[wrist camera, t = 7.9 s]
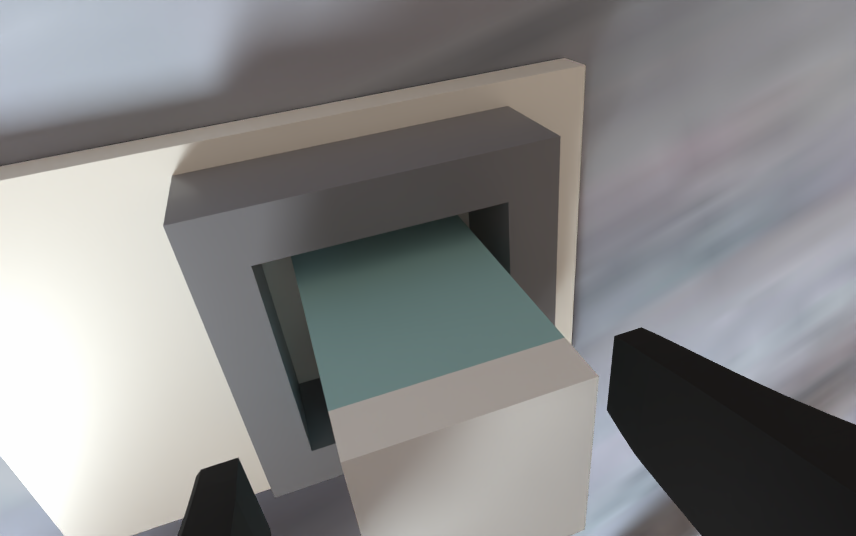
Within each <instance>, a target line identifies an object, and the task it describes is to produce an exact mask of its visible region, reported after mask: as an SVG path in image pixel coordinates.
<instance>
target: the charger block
mask: <svg viewBox="0 0 856 536" xmlns="http://www.w3.org/2000/svg"><path fill="white" fill-rule="evenodd" d="M291 259H292V263H293V267H294V271H295V275H296V280H297V284H298V288H299V292H300V296H301V300H302V305H303V309H304V313H305V317H306V321H307V325H308V330H309V334H310V338H311V342H312V346H313V350H314V354H315V359H316V363H317V367H318V371H319V375H320V379H321V384H322V388H323V392H324V396H325V400H326V404H327V409H328V413H329V417H330V421H331V425H332V429H333V434H334V438H335V442H336V446H337V450H338V454H339V458H340V463H341V466H342V470H343V473H344V477H345V480H346V484H347V487H348V491H349V494H350V498H351V501H352V505H353V508H354V512H355V515H356V519H357V522H358V526H359V529H360V533H361V536H570V535H573V534H575V533H578V532H580V531H583V530H585V521H586V510H587V499H588V488H589V478H590V467H591V456H592V445H593V434H594V423H595V413H596V402H597V391H598V380H599V376H598V375H597V374H596V373H595V371H594V370H593V369H592V368H591V367H590V366H589V365H588V363H587V362H586V361H585V360H584V359H583V358H582V357H581V355H580V354H579V353H578V352H577V351H576V350H575V349H574V347H573V346H572V345H571V344H570V343H569V342H568V341H567V339H566V338H565V337H564V336H563V335H562V334H561V333H560V331H559V330H558V329H557V328H556V327H555V326H554V325H553V323H552V322H551V321H550V320H549V319H548V318H547V317H546V316H545V314H544V313H543V312H542V311H541V310H540V309H539V308H538V306H537V305H536V304H535V303H534V302H533V301H532V300H531V298H530V297H529V296H528V295H527V294H526V293H525V292H524V290H523V289H522V288H521V287H520V286H519V285H518V284H517V282H516V281H515V280H514V279H513V278H512V277H511V276H510V274H509V273H508V272H507V271H506V270H505V269H504V268H503V266H502V265H501V264H500V263H499V262H498V261H497V260H496V258H495V257H494V256H493V255H492V254H491V253H490V252H489V250H488V249H487V248H486V247H485V246H484V245H483V244H482V242H481V241H480V240H479V239H478V238H477V237H476V236H475V234H474V233H473V232H472V231H471V230H470V229H469V228H468V226H467V225H466V224H465V223H464V222H463V221H462V220H461V218H460V217H459V216H458V215H455V216H451V217H447V218H442V219H438V220H434V221H430V222H426V223H422V224H418V225H414V226H410V227H406V228H402V229H398V230H394V231H390V232H386V233H382V234H378V235H374V236H370V237H366V238H362V239H358V240H354V241H350V242H346V243H342V244H338V245H334V246H330V247H326V248H322V249H318V250H314V251H310V252H306V253H302V254H298V255H294V256H291Z"/></svg>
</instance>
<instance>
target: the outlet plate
mask: <svg viewBox="0 0 856 536" xmlns="http://www.w3.org/2000/svg"><path fill="white" fill-rule="evenodd" d="M585 69H586V65H584V64H581V63H578V62H575V61H572V60H569V59H566V58H561V59H556V60H551V61H546V62H540V63H535V64H530V65H525V66H520V67H514V68H509V69H504V70H499V71H494V72H488V73H483V74H478V75H473V76H468V77H462V78H457V79H452V80H447V81H442V82H436V83H431V84H426V85H421V86H416V87H410V88H405V89H400V90H395V91H390V92H384V93H379V94H374V95H369V96H363V97H358V98H353V99H348V100H343V101H337V102H332V103H327V104H322V105H317V106H311V107H306V108H301V109H296V110H291V111H285V112H280V113H275V114H270V115H265V116H259V117H254V118H249V119H244V120H239V121H233V122H228V123H223V124H218V125H213V126H207V127H202V128H197V129H192V130H186V131H181V132H176V133H171V134H166V135H160V136H155V137H150V138H145V139H140V140H134V141H129V142H124V143H119V144H114V145H108V146H103V147H98V148H93V149H88V150H82V151H77V152H72V153H67V154H62V155H56V156H51V157H46V158H41V159H36V160H30V161H25V162H20V163H15V164H10V165H4V166H0V455H1V456H2V458H3V459H4V460H5V462H6V463H7V464H8V465H9V467H10V468H11V469H12V470H13V472H14V473H15V474H16V475H17V477H18V478H19V479H20V480H21V482H22V483H23V484H24V485H25V487H26V488H27V489H28V490H29V492H30V493H31V494H32V495H33V497H34V498H35V499H36V500H37V502H38V503H39V504H40V506H41V507H42V508H43V509H44V511H45V512H46V513H47V514H48V516H49V517H50V518H51V519H52V521H53V522H54V523H55V524H56V526H57V527H58V528H59V529H60V531H61V532H62V533H63V534H64V536H132V535H135V534H138V533H141V532H144V531H147V530H150V529H153V528H156V527H159V526H161V525H164V524H167V523H170V522H173V521H176V520H179V519H182V518H184V515H185V512H186V509H187V506H188V502H189V499H190V496H191V493H192V489H193V486H194V482H195V478H196V476H197V474H198V473H199V472H200V470H201V469H204V468H207V467H210V466H213V465H216V464H219V463H223V462H226V461H229V460H232V459H235V458H238V457H239V460H240V462H241V464H242V466H243V469H244V471H245V473H246V476H247V478H248V480H249V482H250V485H251V487H252V489H253V492H254V494H257V493H260V492H263V491H265V490H268V489H271V490H272V492H273V495H274V497H275V498H276V497H279V496H282V495H285V494H288V493H291V492H294V491H297V490H300V489H303V488H306V487H309V486H312V485H315V484H318V483H320V482H323V481H326V480H329V479H332V478H335V477H338V476H341V475H344V473H343V470H342V466H341V463H340V458H339V454H338V450H337V446H336V442H335V438H334V434H333V429H332V425H331V421H330V417H329V413H328V409H327V404H326V400H325V396H324V392H323V388H322V384H321V379H320V375H319V371H318V367H317V363H316V359H315V354H314V350H313V346H312V342H311V338H310V334H309V330H308V325H307V321H306V317H305V313H304V309H303V305H302V300H301V296H300V292H299V288H298V284H297V280H296V275H295V271H294V267H293V263H292V259H291V256H294V255H298V254H302V253H306V252H310V251H314V250H318V249H322V248H326V247H330V246H334V245H338V244H342V243H346V242H350V241H354V240H358V239H362V238H366V237H370V236H374V235H378V234H382V233H386V232H390V231H394V230H398V229H402V228H406V227H410V226H414V225H418V224H422V223H426V222H430V221H434V220H438V219H442V218H447V217H451V216H455V215H458V216H459V217H460V218H461V220H462V221H463V222H464V223H465V224H466V225H467V226H468V228H469V229H470V230H471V231H472V232H473V233H474V234H475V236H476V237H477V238H478V239H479V240H480V241H481V242H482V244H483V245H484V246H485V247H486V248H487V249H488V250H489V252H490V253H491V254H492V255H493V256H494V257H495V258H496V260H497V261H498V262H499V263H500V264H501V265H502V266H503V268H504V269H505V270H506V271H507V272H508V273H509V274H510V276H511V277H512V278H513V279H514V280H515V281H516V282H517V284H518V285H519V286H520V287H521V288H522V289H523V290H524V292H525V293H526V294H527V295H528V296H529V297H530V298H531V300H532V301H533V302H534V303H535V304H536V305H537V306H538V308H539V309H540V310H541V311H542V312H543V313H544V314H545V316H546V317H547V318H548V319H549V320H550V321H551V322H552V323H553V325H554V326H555V327H556V328H557V329H558V330H559V331H560V333H561V334H562V335H563V336H564V337H565V338H566V339H567V341H568V342H569V343H570V344H571V342H572V323H573V303H574V284H575V264H576V245H577V225H578V206H579V186H580V167H581V147H582V128H583V108H584V89H585Z"/></svg>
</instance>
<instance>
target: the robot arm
mask: <svg viewBox="0 0 856 536" xmlns="http://www.w3.org/2000/svg"><path fill="white" fill-rule="evenodd" d="M607 411H608V413H609V414H610V416H611V418H612V419H613V421H614V422H615V424H616V426H617V427H618V429H619V431H620V432H621V434H622V435H623V437H624V438H625V440H626V441H627V443H628V444H629V446H630V447H631V449H632V450H633V452H634V454H635V455H636V456H637V458H638V459H639V460H640V461H641V463H642V464H643V465H644V466H645V468H646V469H647V470H648V471H649V472H650V474H651V475H652V476H653V477H654V479H655V480H656V481H657V482H658V483H659V485H660V486H661V487H662V488H663V490H664V491H665V492H666V493H667V494H668V496H669V497H670V498H671V499H672V500H673V502H674V503H675V504H676V505H677V506H678V508H679V509H680V510H681V511H682V512H683V514H684V515H685V516H686V517H687V519H688V520H689V521H690V522H691V523H692V525H693V526H694V527H695V528H696V529H697V531H698V532H699V533H700V534H701V535H702V536H856V425H855V424H852V423H850V422H847V421H845V420H842V419H840V418H837V417H835V416H832V415H830V414H827V413H825V412H823V411H820V410H818V409H816V408H813V407H811V406H808V405H806V404H804V403H801V402H799V401H797V400H794V399H792V398H790V397H787V396H785V395H783V394H781V393H779V392H776V391H774V390H772V389H770V388H767V387H765V386H763V385H761V384H759V383H757V382H754V381H752V380H750V379H748V378H746V377H744V376H742V375H740V374H737V373H735V372H733V371H731V370H729V369H727V368H725V367H723V366H721V365H719V364H717V363H715V362H713V361H711V360H709V359H707V358H704V357H702V356H700V355H698V354H696V353H694V352H692V351H690V350H688V349H686V348H684V347H682V346H680V345H678V344H676V343H674V342H672V341H670V340H668V339H666V338H663V337H661V336H659V335H657V334H655V333H653V332H650V331H648V330H646V329H644V328H638V329H635V330H632V331H629V332H626V333H623V334H620V335H617V336H614V346H613V355H612V365H611V375H610V385H609V394H608V404H607ZM178 536H271V532H270V528H269V526H268V523H267V521H266V519H265V517H264V514H263V512H262V510H261V507H260V505H259V503H258V501H257V498H256V496H255V494H254V492H253V489H252V487H251V485H250V482H249V480H248V478H247V476H246V473H245V471H244V469H243V466H242V464H241V462H240V460H239V457H238V458H235V459H232V460H229V461H226V462H223V463H219V464H216V465H213V466H210V467H207V468H204V469H201V470H200V472H199V473H198V474H197V476H196V478H195V482H194V486H193V489H192V493H191V496H190V499H189V502H188V506H187V509H186V512H185V515H184V518H183V521H182V524H181V528H180V531H179V533H178Z"/></svg>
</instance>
